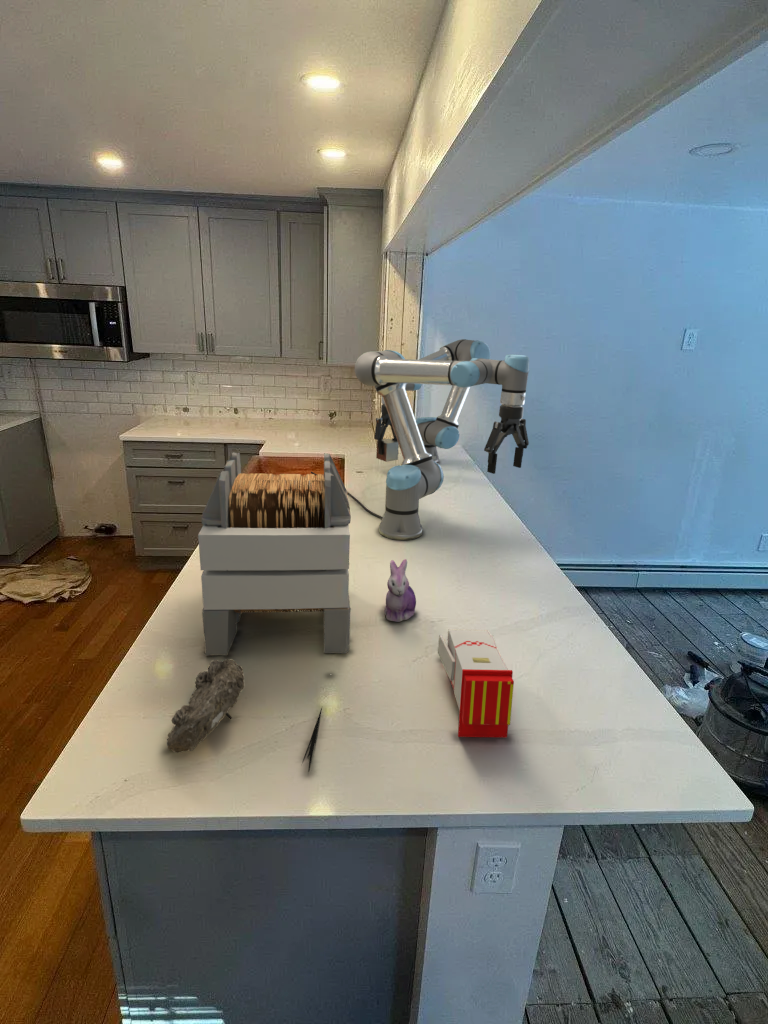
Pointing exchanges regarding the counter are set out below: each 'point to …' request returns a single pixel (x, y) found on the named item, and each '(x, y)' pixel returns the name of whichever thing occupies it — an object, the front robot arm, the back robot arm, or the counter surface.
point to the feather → (313, 740)
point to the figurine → (399, 594)
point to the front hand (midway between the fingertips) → (504, 469)
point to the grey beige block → (388, 450)
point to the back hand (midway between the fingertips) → (387, 453)
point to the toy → (478, 682)
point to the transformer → (275, 551)
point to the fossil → (206, 705)
